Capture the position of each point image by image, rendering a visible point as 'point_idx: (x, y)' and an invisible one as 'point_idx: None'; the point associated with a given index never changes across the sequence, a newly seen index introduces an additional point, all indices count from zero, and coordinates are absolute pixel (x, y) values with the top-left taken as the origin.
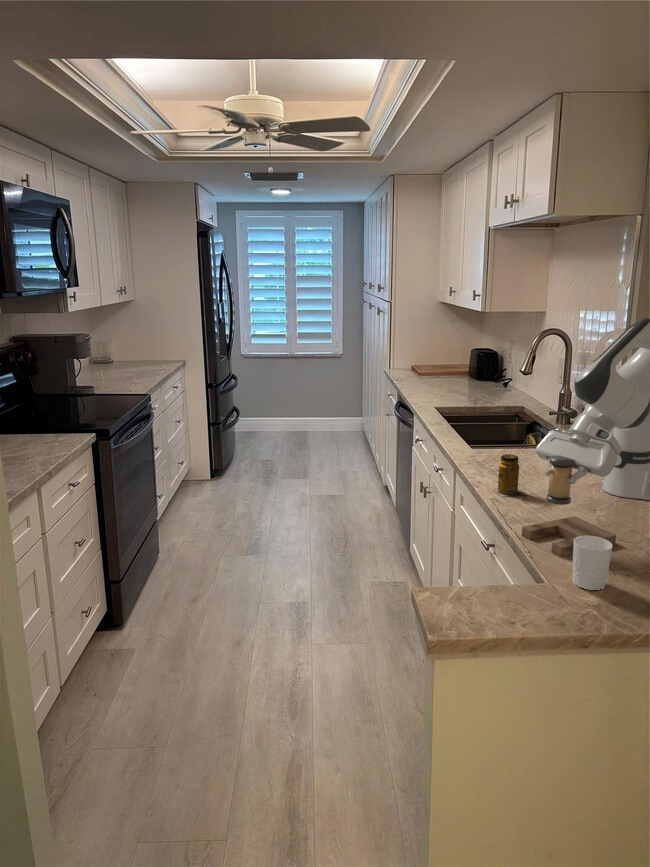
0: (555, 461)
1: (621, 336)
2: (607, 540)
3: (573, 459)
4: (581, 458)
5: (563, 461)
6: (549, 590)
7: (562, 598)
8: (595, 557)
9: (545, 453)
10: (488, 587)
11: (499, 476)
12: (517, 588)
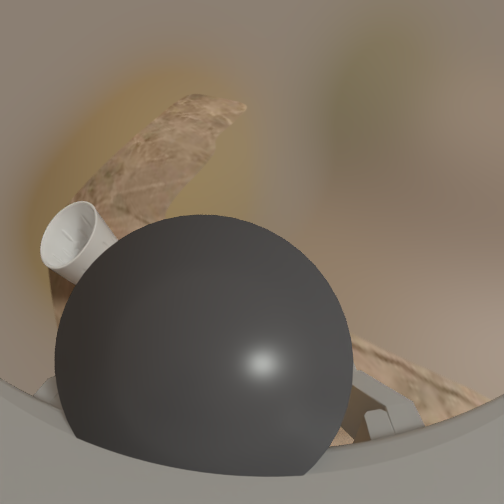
0: (178, 217)
1: None
2: (48, 266)
3: (83, 436)
4: (13, 436)
5: (113, 276)
6: (145, 211)
7: (124, 210)
8: (66, 221)
9: (485, 406)
10: (211, 155)
11: None
12: (181, 180)
